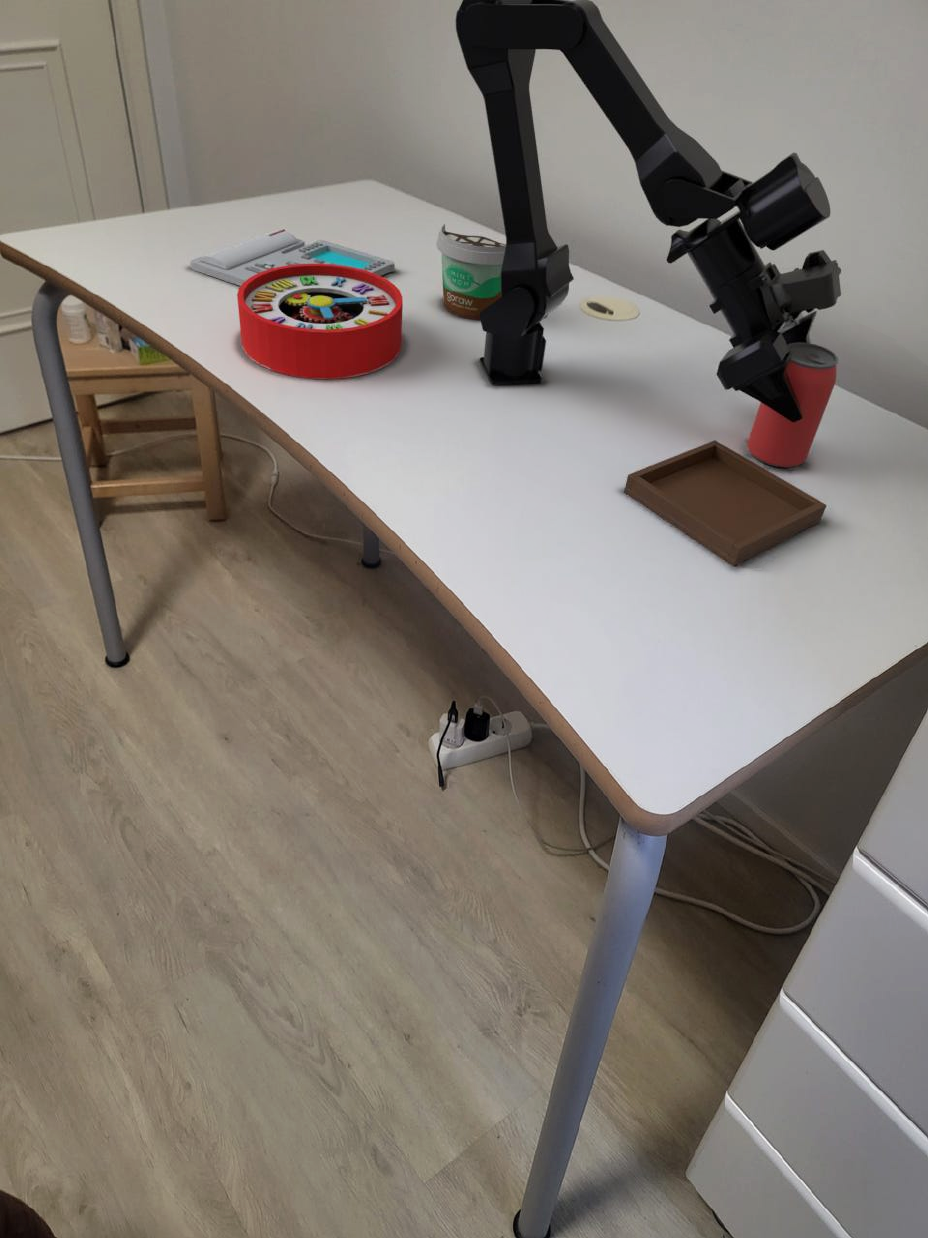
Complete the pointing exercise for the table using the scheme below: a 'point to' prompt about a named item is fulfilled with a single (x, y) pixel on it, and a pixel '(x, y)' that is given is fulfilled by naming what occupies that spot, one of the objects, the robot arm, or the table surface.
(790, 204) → the robot arm
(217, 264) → the office telephone
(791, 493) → the tray
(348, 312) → the toy clock
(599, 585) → the table surface
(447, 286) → the food container
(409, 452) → the table surface
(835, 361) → the beer can
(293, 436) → the table surface
